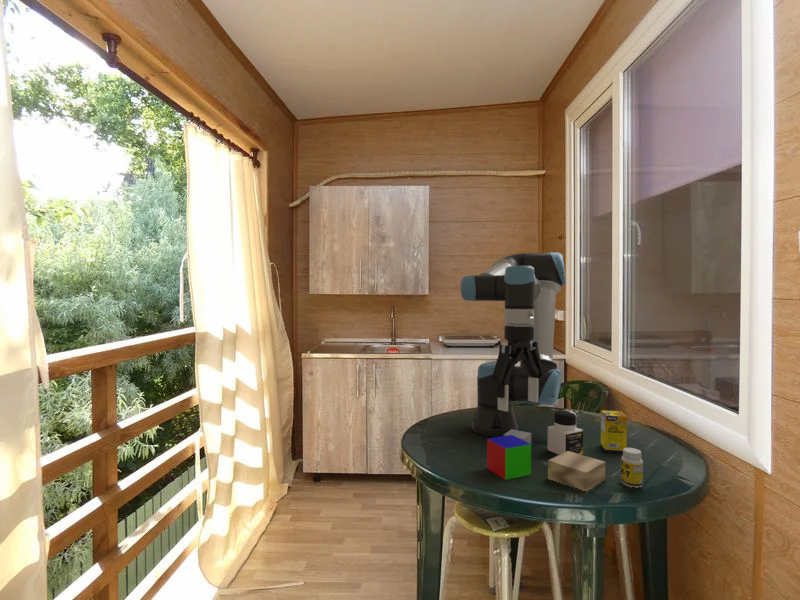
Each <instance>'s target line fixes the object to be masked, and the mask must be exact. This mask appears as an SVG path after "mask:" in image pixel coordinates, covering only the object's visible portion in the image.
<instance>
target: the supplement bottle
mask: <svg viewBox="0 0 800 600" xmlns="http://www.w3.org/2000/svg"><path fill="white" fill-rule="evenodd" d="M620 460H621V461H620V462H621V463H620V464H621V465H620V483H621V484H622V483H623V484H622V485H624V486H625V485H626V487H628V486H629V487H628V488H632V487H635V488H634V489H639V487H640V488H642V487H643V483H644V482H643V481H644V480H643V479H644V478H643V477H644V476H643V475H644V472H643V471H644V461H643V459H642V450H640V449H638V448H634V447H627V448H624V449H623V453H622V456H621V459H620Z"/></svg>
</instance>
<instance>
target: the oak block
mask: <svg viewBox="0 0 800 600" xmlns="http://www.w3.org/2000/svg"><path fill="white" fill-rule="evenodd" d="M547 480H550V481H552V480H553V482H555V481H556V483H558V482H560V483H559V484H561V483H562V484H561V485H564V484H566V485H565V486H567V485H569V486H572V487H575V488H578V489H581V490H583V491H582V492H584V491H588V490H589V491H591V490H592V489H594V488H596V487H597V486H598V484H599V483H600V484H602V483H603V482H605V481H606V461H605V460H602V459H601V460H600V459H597V458H595V457H591V456H588V455H587V456H586V455H583V454H577V453H574V452H570V451H567V452H564V453H562V454H560V455H558V454H557V455H556V456H554V457H552V458H550V459H548V460H547ZM604 480H605V481H604ZM602 481H603V482H602ZM601 482H602V483H601ZM600 484H599V485H600ZM596 485H597V486H596ZM569 486H568V487H569ZM595 486H596V487H595ZM572 487H571V488H572ZM593 487H594V488H593ZM575 488H574V489H575ZM578 489H577V490H578ZM590 489H591V490H590ZM581 490H580V491H581ZM589 491H588V492H589Z"/></svg>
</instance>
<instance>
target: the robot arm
mask: <svg viewBox="0 0 800 600" xmlns="http://www.w3.org/2000/svg"><path fill="white" fill-rule="evenodd" d="M566 280H567V279H566V270H565V262H564V256H563V254H562V253H561V252H552V251H548V252H526V253H524V252H520V253H513V254H510V255H507V256H504V257H502V258H500V259H498V260H496V261H494V262H493V264H492V265H491V267H490V268H488V269H486V270H485V271H483V272H482V273H480V274H477V275H475V274H474V275H473V274H471V275H464V276H463V277H462V279H461V281H460V295H461V298H462V299H463V300H465V301H472V302H504V311H503V312H504V315H503V316H504V318H503V319H504V324H505V326H504V330H503V332H504V333H503V334H504V336H503V337H504V340H507V345H505V344H500V345H499V347H498V348H499V349H498V350H499V351H498V355H497V356H498V357H497V359H496V360H494V361H486V362H484V363H481V364H479V365H478V368H477V376H476V379H477V383H476V384H477V385H476V387H477V388H476V389H477V396H476V397H477V398H476V399H477V403H476V405H477V406H476V410H475V413H474V415H473V416H474V417H473V419H472V422H471V430H472V431H473V432H474V433H476V434H478V435H480V436H485V437H490V438H495V437H502V436H504V434H505V433H507V432H508V431H510V430H511V429H513V430H518V429H519V428H518V427H519V425H518V422H517V420H516V416H515V413H514V409H513V402H515V403H523V404H533V405H539V406H542V405H543V406H553V405H554V404H556V403H557V401H558V398H559V395H560V390H561V384H562V375H563V374H562V370H561V369H559V368H558V364H557V362H556V361H555V360H554V359H553V357H554V338H555V322H556V303H557V302H556V300H557V294H559V293H560V292H561V291H562V286H565V285H566V284H567V281H566ZM519 362H520V365H519V366H517V364H518V363H519ZM518 431H519V430H518Z"/></svg>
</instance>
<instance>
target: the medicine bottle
mask: <svg viewBox="0 0 800 600" xmlns="http://www.w3.org/2000/svg"><path fill="white" fill-rule="evenodd" d="M553 418H554V419H553V420H554V422H553V423H554V425H550V426H547V451H548V452H551V453H553V454H556V455H557V456H558V455H560V454H562V453H564V452H567V451H570V452H574V453H577V454H580V455H583V454H584V429H583V428H578V427H577V414H576V413H575V412H574V411H572V410H567V409H560V410H559V409H558V410H557V411H555V412H554V417H553Z"/></svg>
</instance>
